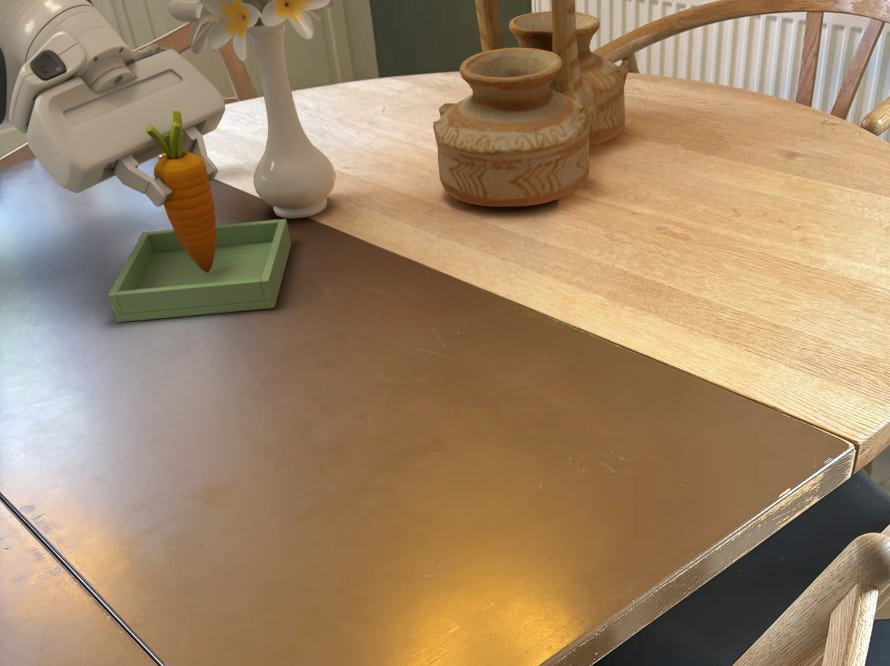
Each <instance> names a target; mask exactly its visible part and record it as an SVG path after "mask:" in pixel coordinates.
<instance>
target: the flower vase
mask: <svg viewBox="0 0 890 666" xmlns="http://www.w3.org/2000/svg"><path fill="white" fill-rule="evenodd" d="M334 7H335V5H334V1H333V0H172V1H170V2H169V3H168V4H167V11H168V13H169V14H170V16H171V17H173V19H175V20H177V21H180V22H183V23H193V24H192V26H191V28H190V31H189V42H188V43H189V46H190V50H191V52H192V53H193V54H194V55H199V54H200V53H202V51H203V49H204V47H205V46H206V45H205V44H206V42H207V46H208V47H209V48H210V50H212V51H217V50H221V48H223V49H224V48H225V46H226V45H227V43H229V41H232V47H233V51H234V54H235V55H236V57H237V59H238V60H239V61H240V62H245V61H247V58H248V56H249V45H248V42H249V44H250V46H251V49H252V52H253V55H254V58H255V61H256V64H257V65H256V66H257V68H258V72H259V78H260V83H261V88H262V94H263V100H264V105H265V112H266V120H267V138H266V145H265V149H264V152H263V154H262V155H261V157H260V159H259V160H258V162H257V164H256V167H255V170H254V174H253V187H254V189H255V192H256V194H257V196H258V197H259V198H260V199H261V200H262V201H263V202H264V203H266V204H268V205H269V206H271V207H272V209H273V213H274V214H275V215H276V216H278V217H280V218H282V219H292V220H293V219H303V218H308V217H312V216H315V215H317V214H319V213H322V212H323V211H324V210H325V209H326V208H327V205H328V201H327V198H328V197H329V196H330V194H331V193H332V191H333V189H334V187H335V184H336V180H337V173H336V170H335V167H334V165H333V163H332V162H331V160H330V158H329V157H328V156H327V155H326V154H325V153H324V152H323V151H322V150H320V149H319V148H318V147H317V146H316V145H314V144H313V143H312V142H311V140H310V139H309V137H308V136H307V134H306V132H305V130H304V128H303V126H302V124H301V120H300V118H299V114H298V112H297V111H298V110H297V107H296V104H295V99H294V94H293V91H292V86H291V82H290V77H289V72H288V66H287V60H286V49H285V48H286V46H285V30H286V27H287V23H286V21H287V20H288V22H289V23H290V25H291V26H292V28H293V29H294V31H295V32H296V33H297V35H299V37H301V38H303V39H304V40H307V41H309V40H312V39H313V38H314V36H315V27H314V23H313V21H312V19H311V17H310V15H311V16H312V17H313V18H315V19H316V20H318V21H322V15H321V12H320V11H319V10H320V9H323V8H324V9H325V8H326V9H333V8H334ZM308 13H309V14H310V15H309V14H308ZM219 19H220V20H219ZM248 40H249V41H248Z"/></svg>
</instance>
